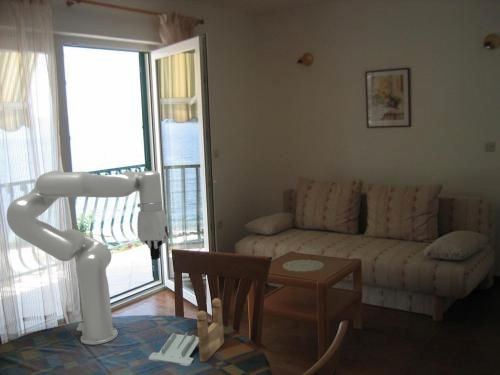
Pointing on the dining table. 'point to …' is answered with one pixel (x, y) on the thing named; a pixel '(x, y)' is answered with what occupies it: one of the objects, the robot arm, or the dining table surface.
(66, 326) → the dining table surface
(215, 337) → the headboard
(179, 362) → the metal bracket
